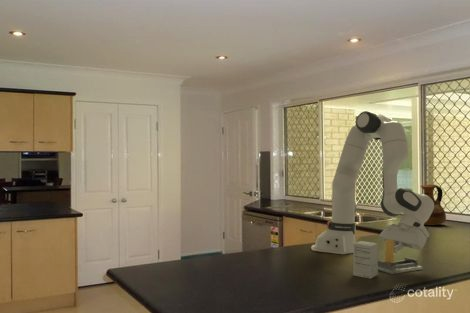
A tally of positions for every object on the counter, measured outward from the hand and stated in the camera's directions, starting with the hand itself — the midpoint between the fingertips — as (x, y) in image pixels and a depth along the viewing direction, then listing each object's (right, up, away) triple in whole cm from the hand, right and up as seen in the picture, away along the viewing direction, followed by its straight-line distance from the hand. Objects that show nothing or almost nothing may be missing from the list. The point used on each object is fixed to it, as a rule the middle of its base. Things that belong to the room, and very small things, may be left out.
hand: (392, 251), depth 178 cm
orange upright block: (-2, -6, -1) cm, 6 cm away
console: (+3, -7, +1) cm, 8 cm away
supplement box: (-14, -7, -10) cm, 19 cm away
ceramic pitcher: (+79, -11, +138) cm, 159 cm away
